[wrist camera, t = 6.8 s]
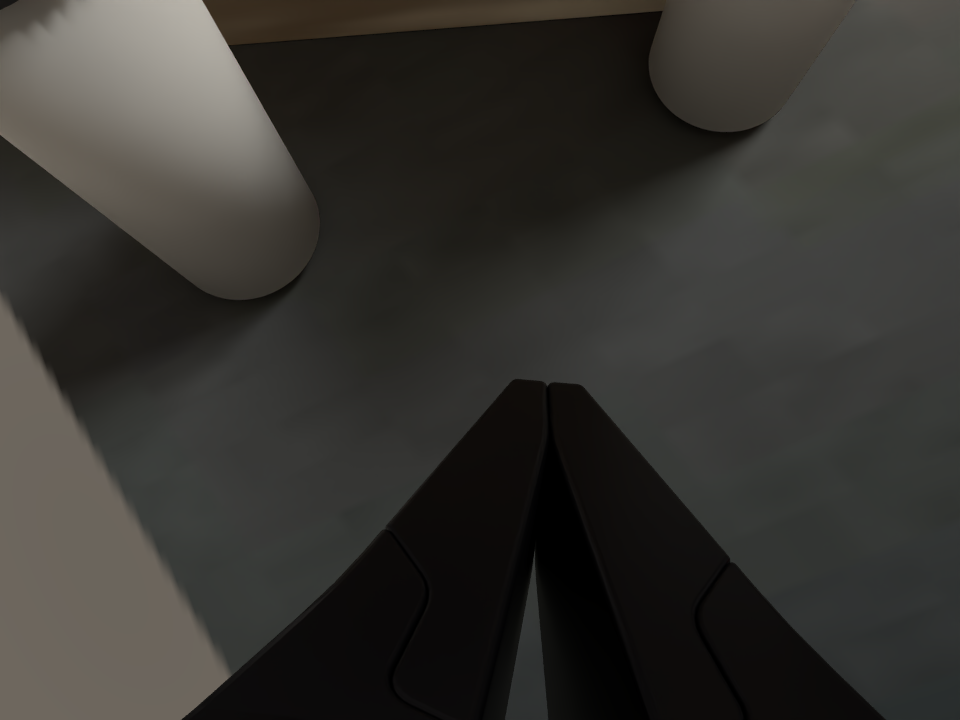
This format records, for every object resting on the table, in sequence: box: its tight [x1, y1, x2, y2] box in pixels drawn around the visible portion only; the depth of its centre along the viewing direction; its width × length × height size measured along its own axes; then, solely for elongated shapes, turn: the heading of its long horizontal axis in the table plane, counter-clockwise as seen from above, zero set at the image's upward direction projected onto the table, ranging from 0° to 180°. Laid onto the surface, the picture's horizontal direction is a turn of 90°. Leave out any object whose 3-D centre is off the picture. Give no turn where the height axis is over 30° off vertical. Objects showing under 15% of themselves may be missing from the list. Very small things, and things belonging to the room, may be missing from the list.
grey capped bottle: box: [0, 0, 320, 300], centre depth 14 cm, size 5×5×14 cm
